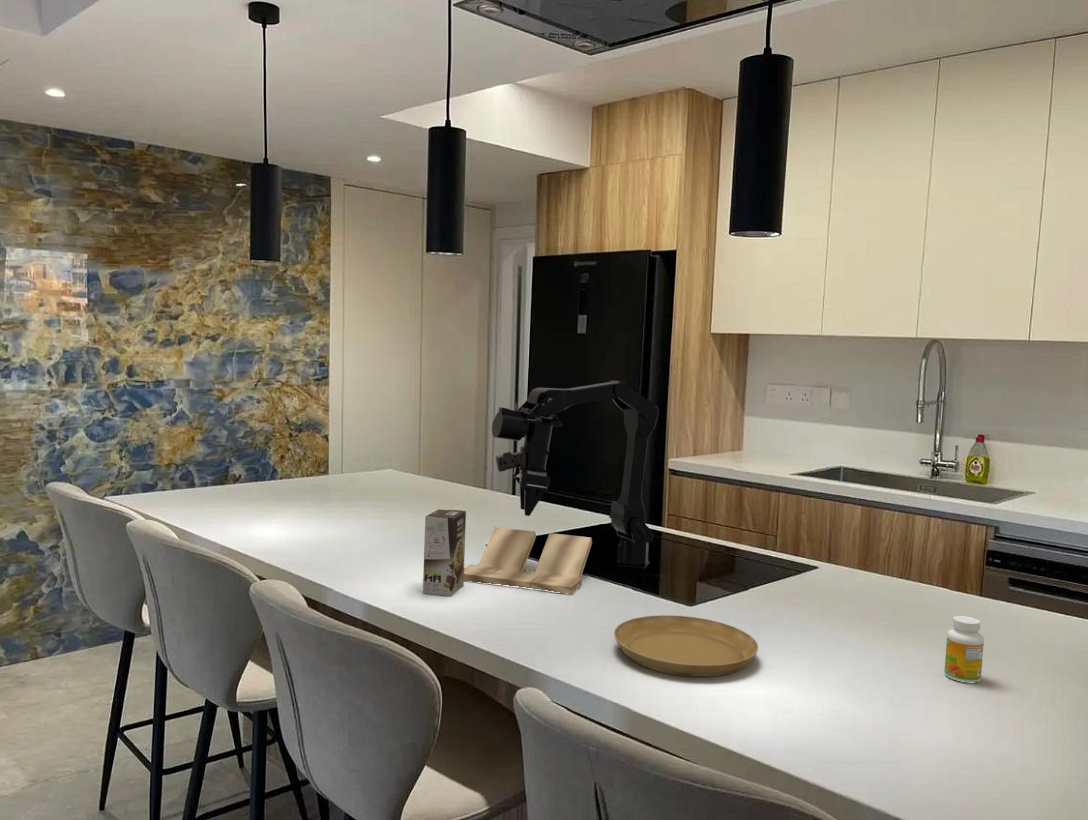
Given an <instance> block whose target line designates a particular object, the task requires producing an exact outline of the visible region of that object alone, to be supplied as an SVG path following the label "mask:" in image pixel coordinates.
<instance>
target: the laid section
mask: <svg viewBox="0 0 1088 820" xmlns="http://www.w3.org/2000/svg"><path fill="white" fill-rule="evenodd" d="M467 581H472V582H471V583H474V582H481V583H480V584H482V583H491V584H501V585H509V586H519V587H526V588H533V589H541V590H548V591H554V592H560V593H568V594H572V593H573V592H574V591H575V590H576V589H577V590H578V589H579V587H580V586H581V585H582V586H583V578H582V577H581V578H577V577H568V576H560V575H552V574H544V573H536V572H535V571H528V570H527V571H526V570H523V571H520V570H512V569H503V568H495V567H487V566H479V565H478V564H477V565H476V564H470V565H468V566H466V567H464V582H467ZM580 588H581V587H580ZM577 590H576V591H577ZM576 591H575V592H576ZM575 592H574V593H575ZM574 593H573V594H574ZM573 594H572V595H573Z"/></svg>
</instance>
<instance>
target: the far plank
mask: <svg viewBox="0 0 1088 820" xmlns="http://www.w3.org/2000/svg"><path fill="white" fill-rule="evenodd" d="M536 538H537V534H536V531H534V530H533V531H532V530H522V529H513V528H505V527H504V528H503V527H494V529H493V531H492V533H491V536H490V537H489V540H488V543H487V544H486V547H485V549H484V551H483V553H482V556H481V558H480V560H479V563H478V564H477V565H479V566H487V567H495V568H503V569H512V570H520V571H524V568H525V566H526V563H527V561H528V559H529V556H530V553H531V551H532V548H533V546H534V543H535V542H536Z"/></svg>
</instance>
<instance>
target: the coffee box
mask: <svg viewBox="0 0 1088 820" xmlns="http://www.w3.org/2000/svg"><path fill="white" fill-rule="evenodd" d="M466 518H467V510H459V509H437V510H435V511H433V512H431V513H429V514H427V515H425V517H424V519H425V522H424V523H425V525H424V544H423V546H424V548H423V550H424V552H423V575H422V594H426V595H427V594H429V595H436V596H437V595H438V596H446V597H452V596H453V595H454V594H455V593H456V592H457V591H458V590H459V589H460V588H462V587H463V586H464V585H465V581H464V568H465V555H466V554H465V549H466V521H467V519H466Z"/></svg>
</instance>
